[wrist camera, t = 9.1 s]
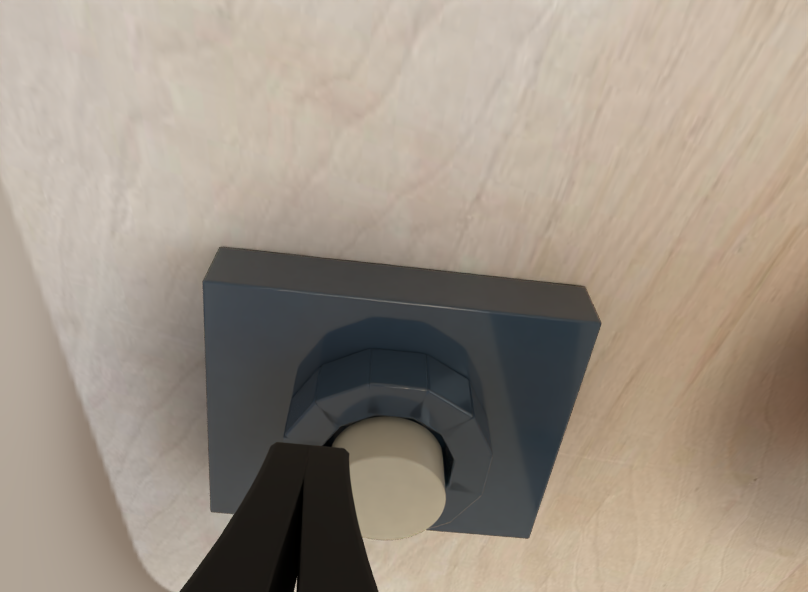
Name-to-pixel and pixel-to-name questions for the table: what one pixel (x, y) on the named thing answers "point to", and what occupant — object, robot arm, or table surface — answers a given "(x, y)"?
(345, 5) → the table surface
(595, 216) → the table surface
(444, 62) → the table surface
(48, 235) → the table surface
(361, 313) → the push button base
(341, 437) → the cream cylinder puck
